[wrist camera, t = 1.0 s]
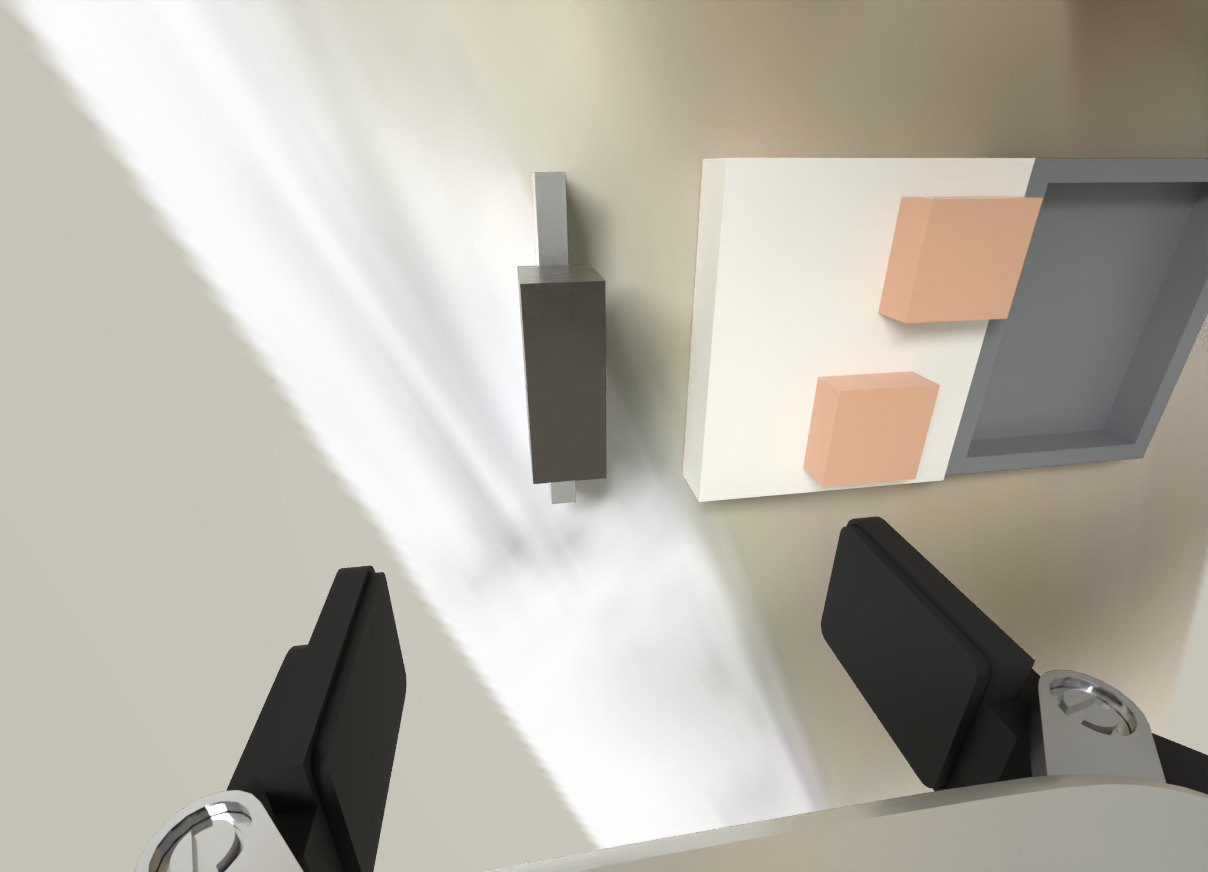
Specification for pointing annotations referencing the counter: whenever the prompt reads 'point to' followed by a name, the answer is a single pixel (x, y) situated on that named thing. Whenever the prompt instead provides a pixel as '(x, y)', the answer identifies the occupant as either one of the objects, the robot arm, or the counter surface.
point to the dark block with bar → (562, 351)
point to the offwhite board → (812, 310)
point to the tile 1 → (869, 427)
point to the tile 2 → (957, 257)
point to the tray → (1092, 317)
